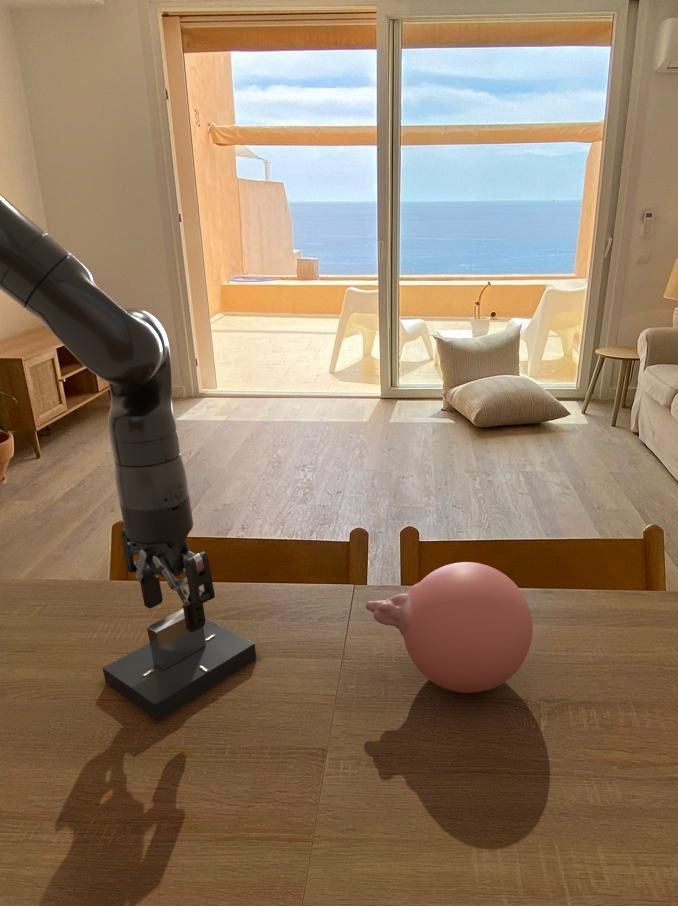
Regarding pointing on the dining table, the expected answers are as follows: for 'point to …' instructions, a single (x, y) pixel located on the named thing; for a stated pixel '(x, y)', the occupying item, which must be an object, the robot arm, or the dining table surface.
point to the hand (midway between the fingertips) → (174, 616)
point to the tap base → (179, 672)
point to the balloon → (462, 626)
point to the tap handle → (173, 640)
